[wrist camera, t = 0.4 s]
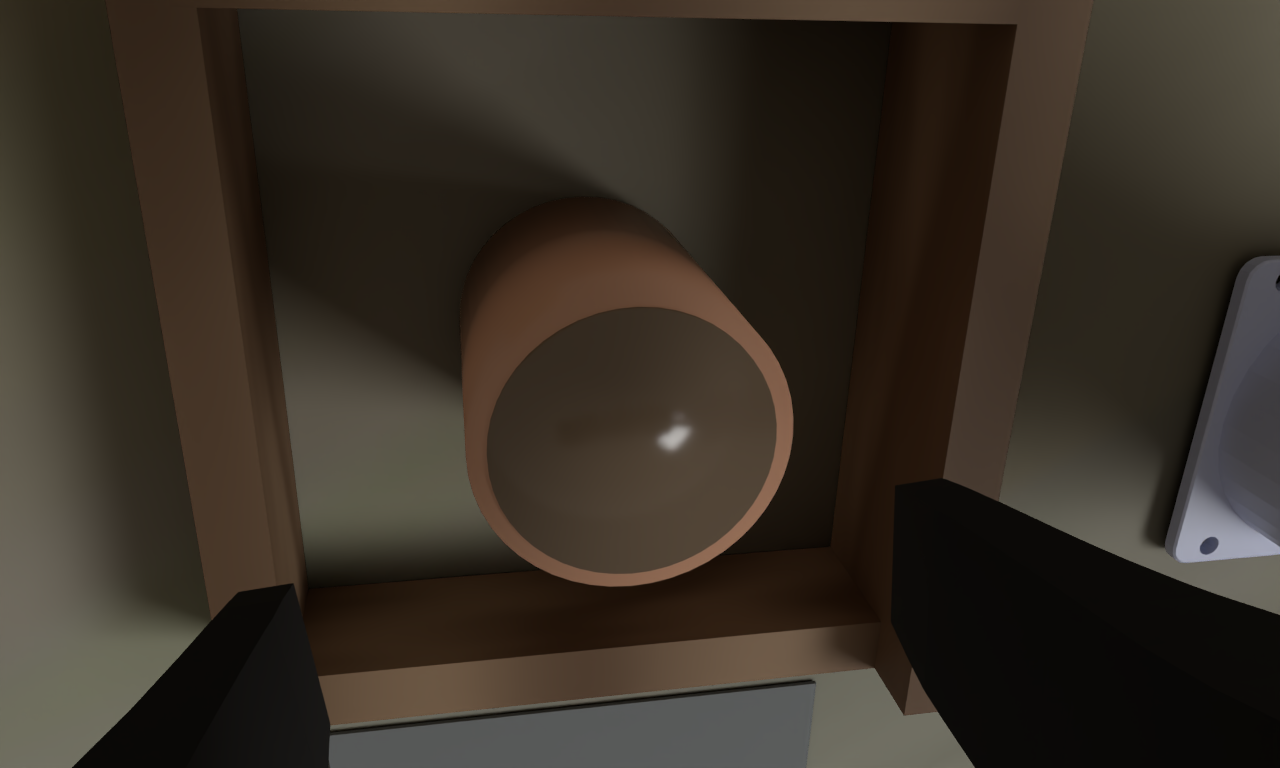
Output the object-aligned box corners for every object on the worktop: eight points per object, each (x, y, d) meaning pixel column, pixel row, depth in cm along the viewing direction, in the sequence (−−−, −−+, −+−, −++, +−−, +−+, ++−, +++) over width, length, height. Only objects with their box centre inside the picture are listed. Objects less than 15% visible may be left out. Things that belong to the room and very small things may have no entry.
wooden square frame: (960, -55, 19) (1105, -61, 15) (871, 584, 24) (958, 708, 20) (148, -84, 16) (49, -101, 12) (257, 639, 22) (214, 795, 18)
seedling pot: (706, 195, 20) (809, 282, 14) (694, 420, 22) (781, 576, 16) (453, 198, 19) (458, 293, 13) (464, 433, 21) (472, 603, 15)
